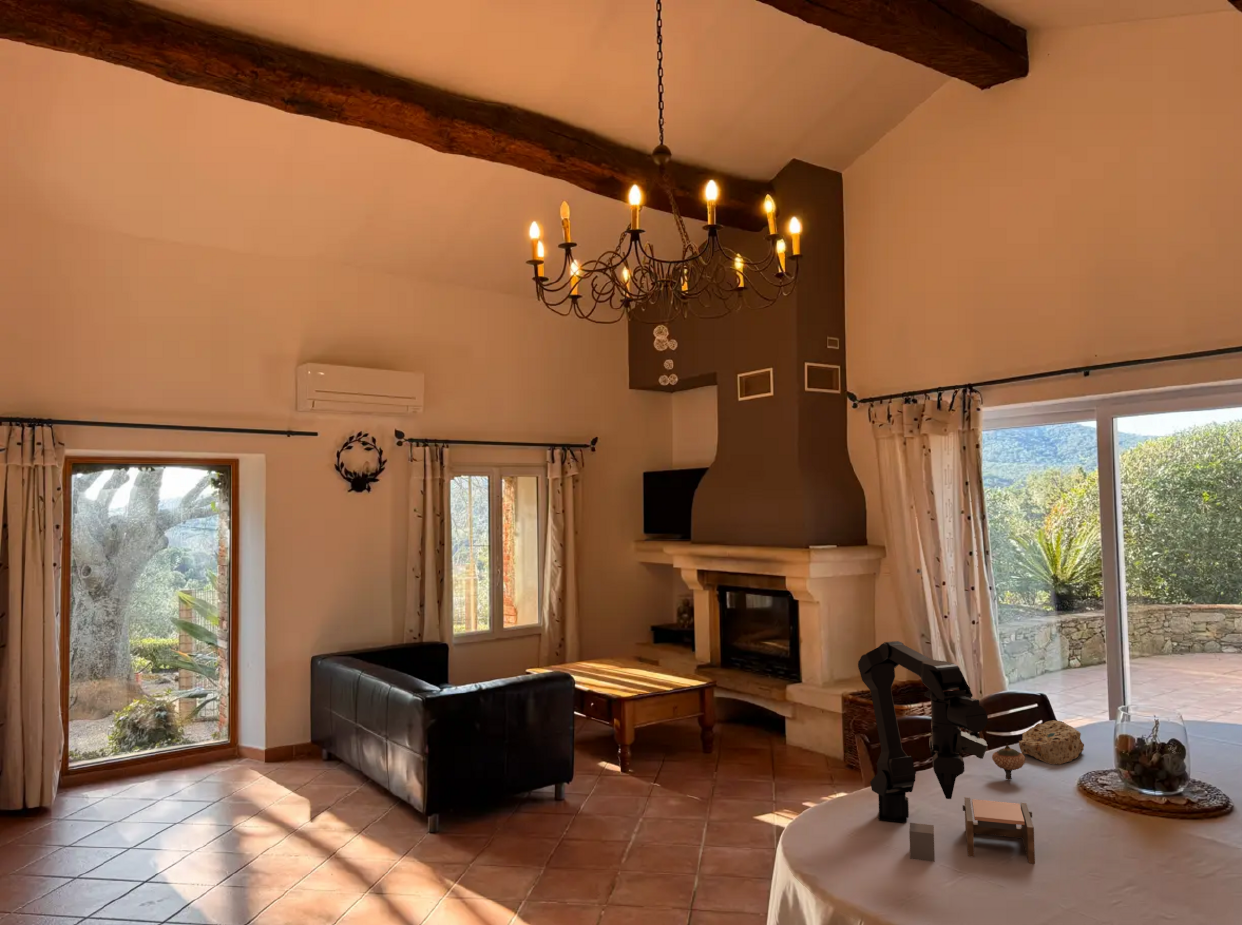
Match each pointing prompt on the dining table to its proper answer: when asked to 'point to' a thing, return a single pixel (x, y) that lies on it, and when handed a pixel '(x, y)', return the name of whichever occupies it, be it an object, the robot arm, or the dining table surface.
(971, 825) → the trapdoor frame
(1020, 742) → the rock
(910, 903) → the dining table surface
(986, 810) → the trapdoor
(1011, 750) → the acorn
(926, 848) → the taupe matte cube
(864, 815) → the dining table surface
